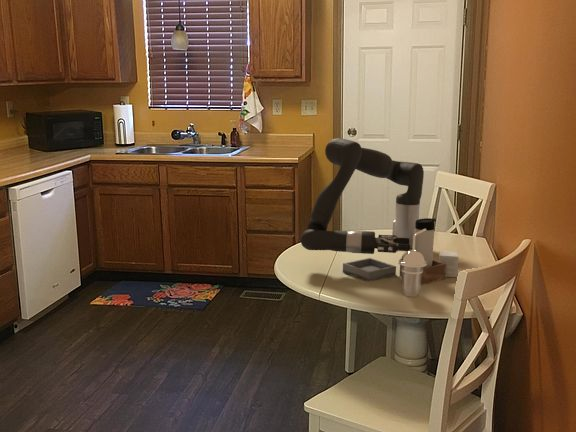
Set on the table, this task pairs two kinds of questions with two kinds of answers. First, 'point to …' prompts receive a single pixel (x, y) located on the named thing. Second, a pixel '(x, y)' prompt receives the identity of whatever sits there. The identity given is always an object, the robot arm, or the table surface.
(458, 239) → the table surface
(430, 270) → the walnut holder
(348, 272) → the slate tray
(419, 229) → the travel mug
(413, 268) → the cup with straw
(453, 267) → the product box
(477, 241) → the table surface
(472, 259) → the table surface
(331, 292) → the table surface
